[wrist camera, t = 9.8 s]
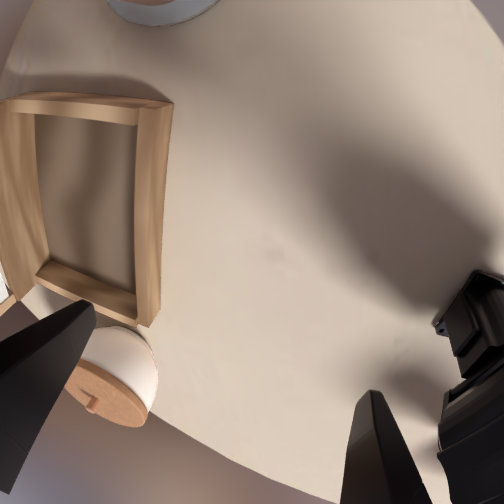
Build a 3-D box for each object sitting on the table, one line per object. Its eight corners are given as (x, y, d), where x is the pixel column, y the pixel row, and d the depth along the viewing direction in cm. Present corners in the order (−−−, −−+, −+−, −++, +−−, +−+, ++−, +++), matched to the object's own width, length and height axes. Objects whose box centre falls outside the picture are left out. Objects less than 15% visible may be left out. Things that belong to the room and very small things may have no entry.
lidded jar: (151, 384, 37) (121, 444, 30) (82, 335, 35) (42, 390, 28) (189, 355, 31) (154, 432, 24) (103, 292, 29) (50, 360, 22)
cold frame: (174, 103, 18) (119, 122, 13) (160, 309, 28) (130, 357, 24) (30, 91, 19) (-26, 110, 14) (47, 263, 29) (12, 297, 25)
